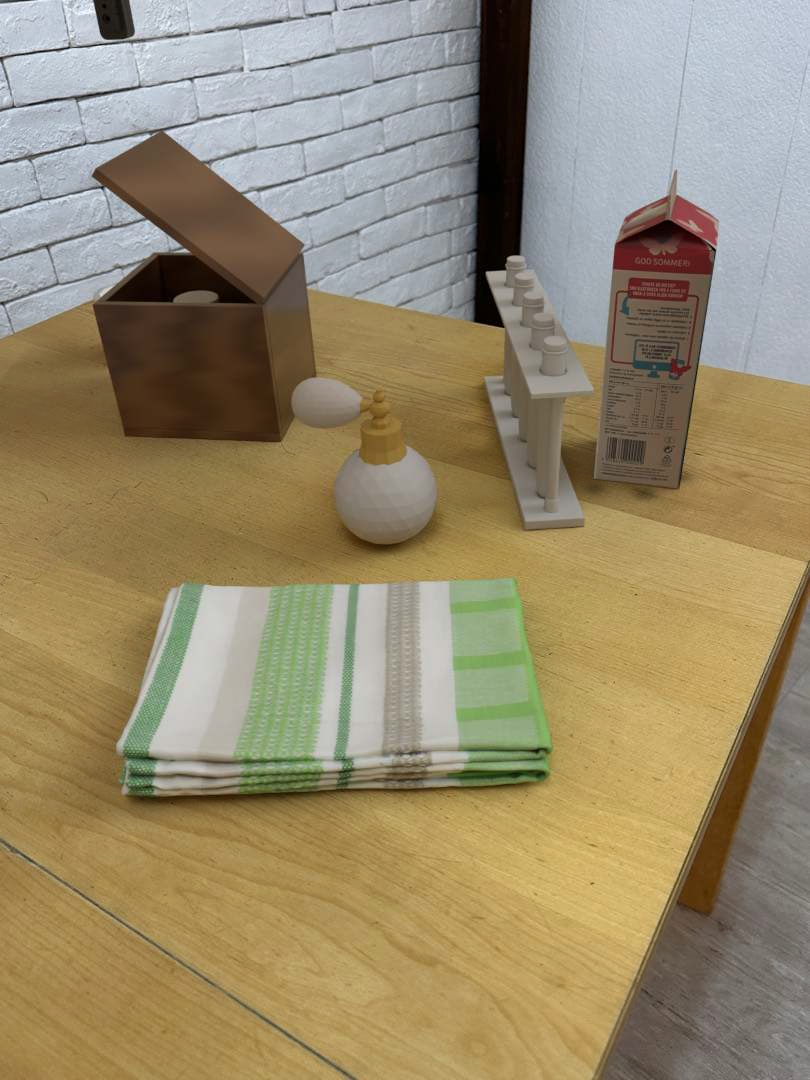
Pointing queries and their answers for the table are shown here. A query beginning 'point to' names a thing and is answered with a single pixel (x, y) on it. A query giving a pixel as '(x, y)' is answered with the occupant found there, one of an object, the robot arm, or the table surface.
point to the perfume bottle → (371, 464)
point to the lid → (202, 213)
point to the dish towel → (337, 690)
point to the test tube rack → (534, 397)
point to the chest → (205, 351)
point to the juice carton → (654, 340)
